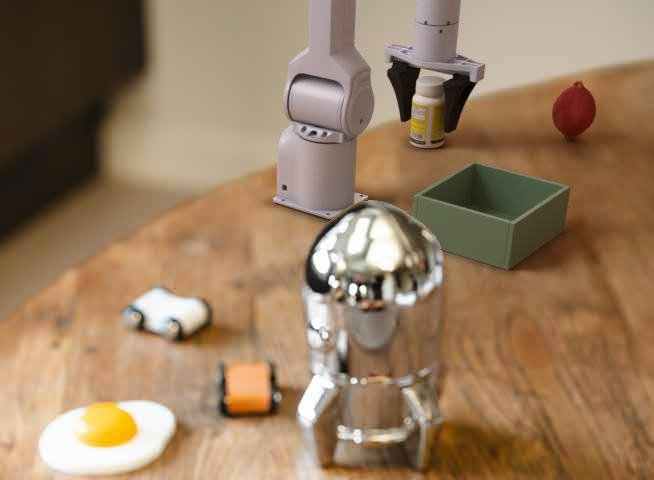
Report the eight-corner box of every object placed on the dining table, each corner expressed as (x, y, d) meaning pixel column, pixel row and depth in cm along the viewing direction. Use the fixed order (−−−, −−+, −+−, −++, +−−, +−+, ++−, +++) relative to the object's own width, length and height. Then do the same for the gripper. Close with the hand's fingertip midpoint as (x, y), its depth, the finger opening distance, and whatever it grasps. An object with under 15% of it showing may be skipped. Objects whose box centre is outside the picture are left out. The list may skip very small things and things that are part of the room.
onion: (547, 130, 169) (555, 71, 164) (589, 132, 169) (599, 72, 163) (549, 146, 165) (558, 85, 160) (592, 147, 164) (603, 87, 159)
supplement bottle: (443, 137, 168) (449, 74, 163) (444, 149, 165) (450, 86, 159) (409, 136, 169) (413, 74, 163) (409, 149, 165) (414, 85, 160)
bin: (410, 240, 143) (413, 195, 139) (468, 204, 151) (473, 160, 147) (508, 270, 137) (514, 224, 133) (563, 231, 144) (571, 186, 141)
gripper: (501, 21, 155) (489, 128, 164) (407, 3, 162) (400, 106, 171) (473, 35, 151) (462, 143, 160) (377, 15, 158) (371, 120, 167)
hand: (428, 125), depth 165 cm, fingers open, 6 cm apart
